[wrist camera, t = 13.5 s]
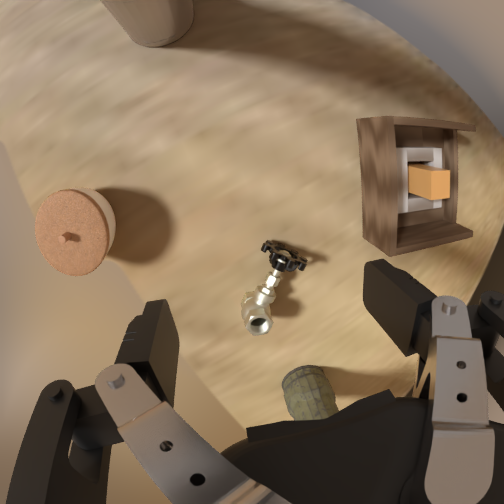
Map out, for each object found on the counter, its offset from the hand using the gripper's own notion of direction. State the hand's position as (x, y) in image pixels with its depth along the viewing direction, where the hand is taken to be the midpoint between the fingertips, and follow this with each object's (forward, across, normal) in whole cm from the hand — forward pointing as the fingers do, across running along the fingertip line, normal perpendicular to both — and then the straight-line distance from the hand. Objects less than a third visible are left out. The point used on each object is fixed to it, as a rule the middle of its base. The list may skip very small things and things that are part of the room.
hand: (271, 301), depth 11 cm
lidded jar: (+28, +20, 0) cm, 35 cm away
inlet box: (+28, -28, +1) cm, 40 cm away
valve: (+28, -3, +14) cm, 32 cm away
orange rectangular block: (+28, -28, +1) cm, 40 cm away
